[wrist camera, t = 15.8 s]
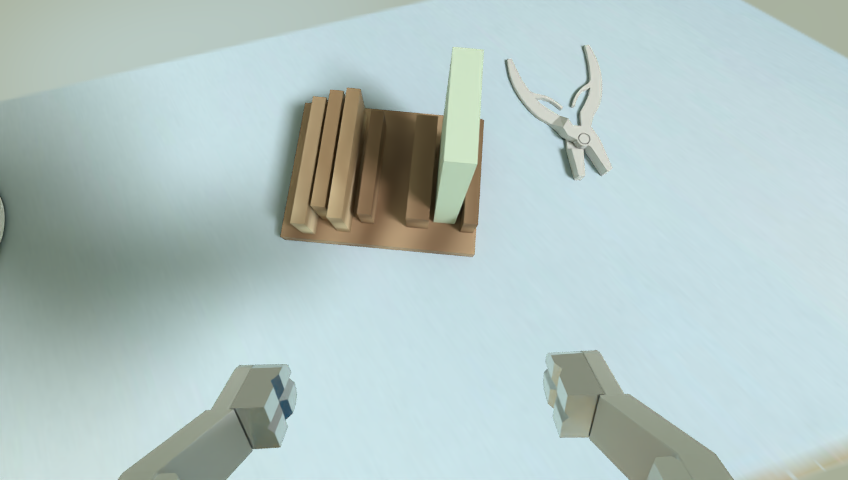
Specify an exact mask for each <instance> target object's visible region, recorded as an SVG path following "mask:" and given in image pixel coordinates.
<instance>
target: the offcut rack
mask: <svg viewBox="0 0 848 480" xmlns="http://www.w3.org/2000/svg"><path fill="white" fill-rule="evenodd" d="M443 117H444V116H443V115H432V114H421V113H411V112H400V111H389V110H378V109H367V108H365V106H364V102H363V98H362V94H361V89H355V88H347V91H346V97H345V94H344V91H339V90H330V94H329V100H328V101H327V98H326V97H315V96H313V100H312V103H305V107H304V112H303V117H302V123H301V128H300V133H299V139H298V144H297V150H296V155H295V160H294V166H293V171H292V176H291V182H290V187H289V192H288V198H287V203H286V208H285V214H284V219H283V224H282V230H281V235H280V237H282V238H283V239H285V240H295V241H306V242H317V243H327V244H338V245H349V246H360V247H371V248H382V249H392V250H403V251H414V252H425V253H436V254H446V255H457V256H468V257H473V256H474V255H475V238H476V227H477V225H478V214H479V197H480V179H481V162H482V145H483V127H484V120H482V119H480V127H479V145H478V163H477V167H476V169H475V172H474V174H473V177H472V180H471V182H470V185H469V188H468V190H467V193H466V195H465V198H464V201H463V203H462V206H461V209H460V211H459V214H458V216H457V219H456V222H455V224H449V223H438V222H433V221H434V209H435V197H436V185H437V173H438V161H439V148H440V140H441V132H442V124H443Z"/></svg>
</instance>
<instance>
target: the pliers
mask: <svg viewBox="0 0 848 480" xmlns="http://www.w3.org/2000/svg"><path fill="white" fill-rule="evenodd" d="M584 52H585V55H586V60H587V65H588V72H589V83H588V84H586V85H585V86H583V87H582V88H581V89H580V90H579V91H578V92H577V94H576V95H575V97H574V99H573V102H572V105H571V108H574V106H575V103H576V100H577V98H578V96H579V95H580V94H581V93H582V92H584V91H586V90H589V92H588V97H587V99H586V101H585V104H584V106H583V107H582V109H581V111H580V113H579V121H580V126H576V125H572V123H571V122H570V120H569V119H568V118H565V117H562V116H559V115H558V114H556V113H554V112H553V111H551V110H549V109H548V108H546V107H545V106H543V105H542V104H541V103H540V102H539V101H538V100H543V101H546V102H549V103H551V104H552V105H554V106H555V107H556V108H558V109H559V110H561V109H562V108H563V107H562V106H561V105H560V104H559V103H557V102H556V101H555V100H553V99H552V98H549V97H547V96H544V95H540V94H535V93H533V92H530V91H529V89H528V88H527V87H526V85H525V84H524V82H523V81H522V79H521V77H520V75H519V73H518V71H517V69H516V67H515V65H514V63H513V60H512V59H508V60H507V67H508V73H509V77H510V80H511V83H512V86H513V88H514V90H515V92H516V94H517V95H518V97H519V99H520V100H521V101H522V103H523V104H524V106H525V107H526V108H527V109H528V110H529V111H530V112H531V113H532V114H533V115H534V116H535V117H536V118H537V119H538V120H540V121H542V122H544V123H545V124H547V125H549V126H550V127H552V128H553V129H554V130H555V131H556V132H557V133H558V134H559V135H560V137H562V138H565V140H566V152H567V156H568V160H569V163H570V167H571V171H572V174H573V178H574V180H581V179H582V178H583V177H584V176H585V165H584V150H585V153H586V154H587V156H588V157H589V159H590V160H591V162H592V163H593V164H594V166H595V167H596V169H597V170H598V172H599V173H600V175H601V176H602V175H604V174H606V173H607V172H609V171H610V170H611V169H612V166H611V164H610V161H609V159H608V157H607V154H606V152H605V150H604V147H603V145H602V143H601V140H600V139H599V137H598V136H597V134H596V133H595V131H594V130H593V128H592V127H591V124H592V120H593V117H594V114H595V113H596V111H597V109H598V107H599V105H600V101H601V97H602V77H601V71H600V67H599V64H598V61H597V58H596V56H595V54H594V52H593V51H592V49H591V47H590V46H589V45H585V46H584Z"/></svg>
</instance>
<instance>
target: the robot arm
mask: <svg viewBox="0 0 848 480" xmlns="http://www.w3.org/2000/svg"><path fill="white" fill-rule="evenodd" d="M4 223H5V215H4V207H3V203H2V200H1V197H0V242H1V239H2V235H3V231H4ZM545 362H546V365H547V368H548V369H547V370H546V371H545V372H544V377H543V384H544V392H545V396H546V399H547V402H548V404H549V405H550V406H551V407H553V408H554V411H553V420H554V422H555V425H556V428H557V431H558V434H559V437H560V438H562V437H589V439H590V440H591V441H592V442H593V443H594V444H595V445H596V446H597V447H598V448H599V449H600V450H601V451H602V452H603V453H604V454H605V455H606V456H607V458H608V459H609V460H610V461H611V462H612V463H613V464H614V465H615V466H616V467H617V468H618V469H619V470H620V471H621V472H622V473H623V474H624V475H625V476H626V477H627V478H628V479H629V480H734V479H733V478H732V477H731V475H730V474H729V472H728V471H727V469H726V468H725V467H724V465H723V464H722V462H721V461H720V460H719V458H718V457H717V455H716V454H715V453H713V452H712V451H711V450H709V449H708V448H706V447H705V446H703V445H702V444H701V443H699V442H698V441H696V440H695V439H693V438H692V437H690V436H689V435H688V434H686V433H685V432H683V431H682V430H680V429H679V428H677V427H676V426H675V425H673V424H672V423H670V422H669V421H667V420H666V419H665V418H663V417H662V416H660V415H659V414H657V413H656V412H654V411H653V410H652V409H650V408H649V407H647V406H646V405H644V404H643V403H642V402H640V401H639V400H637V399H636V398H634V397H633V396H631V395H630V394H624V393H623V391H622V389H621V388H620V386H619V384H618V382H617V381H616V379H615V377H614V376H613V374H612V372H611V370H610V369H609V367H608V365H607V363H606V362H605V360H604V358H603V357H602V355H601V353H600V352H599V351H597V350H594V351H573V352H554V353H548V354H547V355H546V361H545ZM290 374H291V370H290V368H289V365H286V364H269V365H239V366H238V367H237V368H236V369H235V370H234V372H233V373H232V375H231V377H230V378H229V380H228V382H227V383H226V385H225V387H224V388H223V390H222V392H221V394H220V395H219V397H218V399H217V400H216V402H215V404H214V405H213V407H212V409H211V410H206V411H204V412H203V413H202V414H200V415H199V416H198V417H196V418H195V419H194V420H192V421H191V422H190V423H188V424H187V425H186V426H185V427H183V428H182V429H181V430H179V431H178V432H177V433H175V434H174V435H173V436H171V437H170V438H169V439H167V440H166V441H165V442H163V443H162V444H161V445H159V446H158V447H157V448H155V449H154V450H153V451H151V452H150V453H149V454H147V455H146V456H145V457H143V458H142V459H141V460H139V461H138V462H137V463H135V464H134V465H133V466H131V467H130V468H129V469H127V470H126V471H125V472H123V473H122V475H121V476H120V477H119V479H118V480H226V479H227V478H228V477H229V476H230V475H231V474H232V473H233V472H234V470H235V469H236V468H237V467H238V466H239V465H240V464H241V463H242V462H243V461H244V460H245V458H246V457H247V456H248V455H249V454H250V453H251V452H252V449H262V448H278V447H281V444H282V442H283V439H284V436H285V433H286V431H287V428H288V425H287V423H286V419H287V418H288V417H289V416H290V415H291V414H293V411H294V408H295V405H296V398H297V391H296V386H295V382H293V381H292V380H291V379H289V377H290Z"/></svg>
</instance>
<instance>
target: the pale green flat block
mask: <svg viewBox="0 0 848 480" xmlns="http://www.w3.org/2000/svg"><path fill="white" fill-rule="evenodd" d="M483 54H484V50H481V49H470V48H459V47H453V49H452V57H451V64H450V72H449V79H448V87H447V94H446V102H445V109H444V117H443V124H442V132H441V140H440V148H439V161H438V173H437V185H436V197H435V209H434V221H433V222H438V223H449V224H455V222H456V219H457V216H458V214H459V211H460V209H461V206H462V203H463V201H464V198H465V195H466V193H467V190H468V188H469V185H470V182H471V180H472V177H473V174H474V172H475V169H476V167H477V163H478V145H479V127H480V108H481V90H482V72H483Z"/></svg>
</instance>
